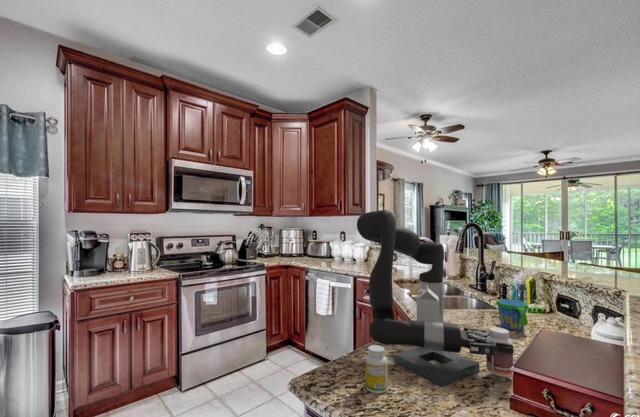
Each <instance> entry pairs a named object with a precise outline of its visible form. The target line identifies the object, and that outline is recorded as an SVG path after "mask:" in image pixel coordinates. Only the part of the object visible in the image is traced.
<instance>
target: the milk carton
mask: <svg viewBox="0 0 640 417" xmlns="http://www.w3.org/2000/svg"><path fill="white" fill-rule="evenodd" d="M416 293H417V295H416V321H424V322H425V321H426V322H429V321H434V322H439V299H438V296H437V295H436V294H434V293H433V292H432V291H431V290H430V289H429V288H428V285H427V288H426V289H425V290H423V289H421V290H418V291H417V292H416Z"/></svg>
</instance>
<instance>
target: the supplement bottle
mask: <svg viewBox="0 0 640 417" xmlns="http://www.w3.org/2000/svg"><path fill="white" fill-rule="evenodd" d="M367 349H368V350H367V353H368V354H367V355H366V357H365V381H364V382H365V388H366V390H367V391H368V392H369V393H372V394H377V395H378V394H379V395H380V394H384V393H386V392H387V390H388V383H389V382H388V374H389V373H388V365H389V364H388V358H387V357H386V356H385V354H386V352H385V351H386V349H385V348H384V347H383V346H381V345H376V344H374V345H373V344H372V345H369V346H368V348H367Z"/></svg>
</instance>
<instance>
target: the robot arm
mask: <svg viewBox="0 0 640 417" xmlns="http://www.w3.org/2000/svg"><path fill="white" fill-rule="evenodd" d="M356 229H357V232H358V233H359V235H360V236H361V237H362V238H363V239H364V240H366V241H370V242H374V243H377V244H380V251H379V254H378V257H377V260H376V262H375V264H374V266H373V268H372V270H371V272H370V275H369V281H368V291H369V292H368V293H369V294H368V296H369V304H370V306H371V314H372V315H371V318H372V319H371V320H372V321H371V323H370V325H369V327H368V333H369V336H370V337H371V339H372V340H373V341H374V342H376V343H378V344H381V345H388V346H390V345H391V346H403V345H404V346H411V347H415V348H418V347H425V348H429V349H432V350H439V351H446V352H453V353H456V354H459V353H461V351H462V348H465V349H468V350H469V353H470V354H472V355H483V356H486V355H492V356H495V353H497V352H500V353H508V354H513V355H514V346H512V345H511V344H505V343H497V342H492V341H488V340H487V339H486V338H487V337H488V336H490V334H489V331H487V330H485V329H479V328H470V327H463V330H461V326H460V325H459V324H458V323H452V322H451V323H450V322H444V272H445V270H444V265H445V264H444V263H445V262H444V261H445V249H444V246H443V244H442V243H441V242H439V241H438V242H435V241H421V239H420V237H419V235H418V234H417V233H416V232H415V231H413V230H411V229H410V228H407V227H405V226H399V225H397V224H396V219H395V216H394V214H393V212H391V211H390V210H389V209H380V210H375V211H369V212H365V213H363V214H361V215H360V216H359V217H358V218H357V220H356ZM395 251H396V252H398V253H400V254H402V255H404V256H405V255H406V256H408V257H410V258H411V259H413V260H414V261H416V262H417V263H419V264H423V265H429V266H430V265H431V268H430V270H427V271H423V272H421V273H419V276H418V286H419V287H418V288H419V290H421V289H423V290H425V289H426V288H427V285H428V288H429V289H430V290H431V291H432V292H433V293H434V294H436V295H437V296H438V299H439V322H434V321H429V322H426V321H425V322H424V321H417V320H414V319H407V320H396V319H395V314H394V306H393V305H394V298H393V297H394V293H393V265H394V264H393V263H394V256H395V254H394V253H395ZM419 290H418V291H419ZM487 347H490V348H487Z"/></svg>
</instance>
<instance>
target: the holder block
mask: <svg viewBox="0 0 640 417" xmlns="http://www.w3.org/2000/svg"><path fill="white" fill-rule="evenodd" d="M393 356H394V357H393V358H394V360H393V362H394V364H396V365H397V366H399V367H401V368H403V369H404V370H407V371H408V372H411V373H412V374H414V375H417V376H418V377H420V378H422V379H424V380H426V381H428V382H430V383H431V384H433V385H435V386H438V387H439V388H445V387H446V386H449V385H452V384H454V383H457V382H459V381H461V380H464V379H466V378H468V377H471V376H473V375H476V374H478V373H480V362H478V361H475V360H474V359H470V358H468V357H466V356H463V355H460V354H459V353H454V352H446V351H439V350H432V349H429V348H425V347H415V348H411V349H408V350H404V351H401V352H397V353H394V355H393ZM433 361H434V362H437V363H439V364H440V365H436V364H434V363H432V362H433Z"/></svg>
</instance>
